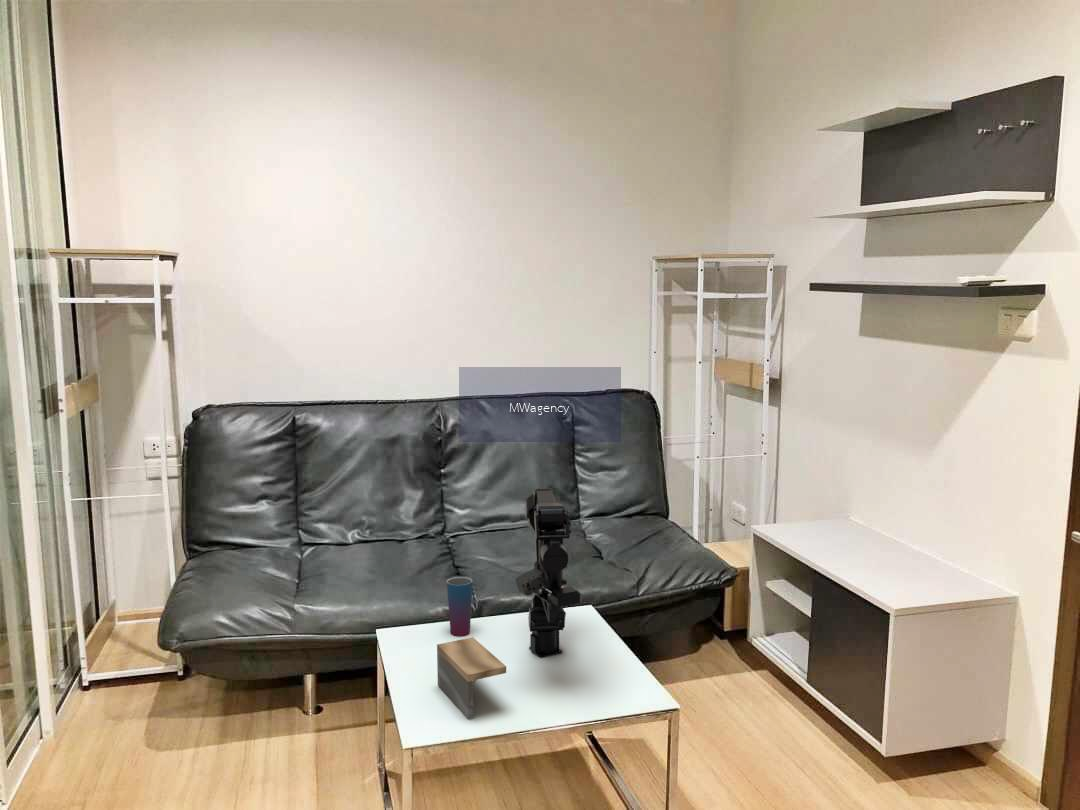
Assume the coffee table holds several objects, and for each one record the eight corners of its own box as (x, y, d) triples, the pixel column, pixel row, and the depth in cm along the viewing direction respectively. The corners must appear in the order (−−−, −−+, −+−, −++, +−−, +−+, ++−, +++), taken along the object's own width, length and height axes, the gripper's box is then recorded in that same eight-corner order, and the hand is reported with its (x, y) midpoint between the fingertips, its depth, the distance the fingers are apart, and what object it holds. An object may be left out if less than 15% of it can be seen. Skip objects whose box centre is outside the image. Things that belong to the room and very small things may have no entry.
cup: (469, 641, 223) (468, 586, 221) (444, 639, 224) (443, 584, 222) (476, 631, 229) (475, 577, 227) (451, 629, 231) (451, 575, 229)
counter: (473, 677, 202) (473, 637, 200) (506, 710, 186) (506, 666, 185) (437, 685, 197) (437, 644, 196) (468, 719, 182) (467, 674, 180)
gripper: (502, 552, 204) (503, 615, 206) (539, 574, 188) (539, 642, 190) (543, 546, 209) (543, 607, 211) (582, 567, 193) (582, 633, 195)
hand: (550, 622), depth 202 cm, fingers closed
